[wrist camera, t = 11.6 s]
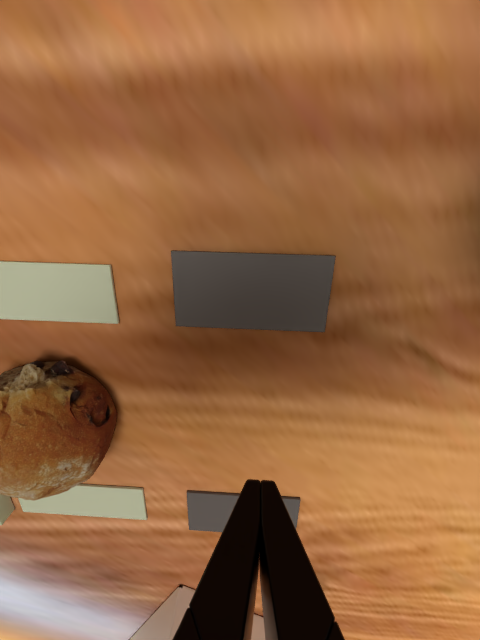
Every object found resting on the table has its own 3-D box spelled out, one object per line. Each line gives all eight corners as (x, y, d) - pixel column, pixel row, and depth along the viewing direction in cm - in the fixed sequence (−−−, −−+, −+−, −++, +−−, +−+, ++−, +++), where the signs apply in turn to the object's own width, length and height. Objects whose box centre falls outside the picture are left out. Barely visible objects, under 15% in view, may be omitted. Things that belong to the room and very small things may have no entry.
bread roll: (23, 379, 26) (-67, 466, 21) (19, 322, 19) (-120, 431, 14) (118, 431, 28) (59, 524, 22) (146, 396, 21) (69, 520, 15)
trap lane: (334, 255, 17) (341, 259, 16) (294, 534, 27) (296, 552, 25) (-105, 242, 18) (-134, 244, 17) (7, 515, 28) (-6, 531, 26)
